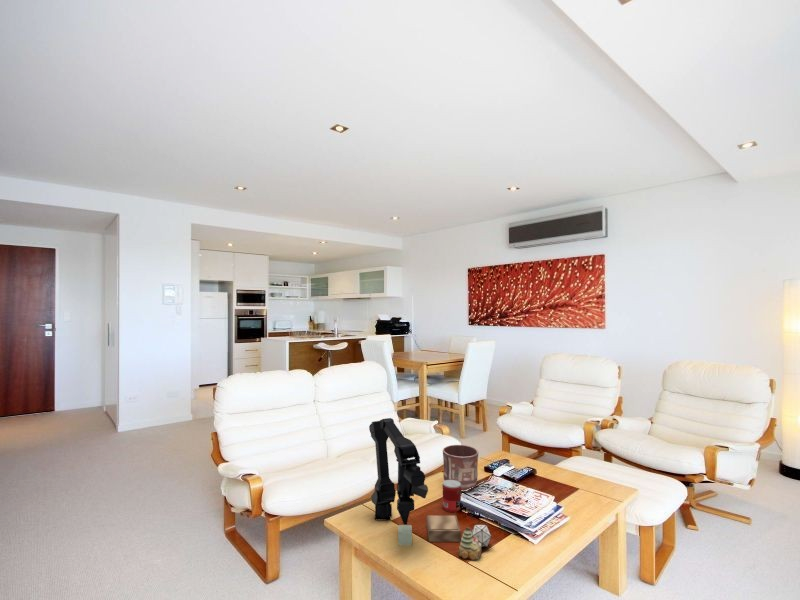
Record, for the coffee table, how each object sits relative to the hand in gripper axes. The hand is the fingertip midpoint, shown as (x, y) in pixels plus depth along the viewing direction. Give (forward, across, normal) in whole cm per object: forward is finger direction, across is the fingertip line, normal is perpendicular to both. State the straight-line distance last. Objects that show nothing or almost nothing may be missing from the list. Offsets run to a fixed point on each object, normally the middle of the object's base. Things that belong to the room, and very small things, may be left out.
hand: (405, 518), depth 163 cm
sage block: (+9, 0, 0) cm, 9 cm away
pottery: (+9, +49, -28) cm, 57 cm away
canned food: (+9, +27, -21) cm, 35 cm away
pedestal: (+9, +6, -15) cm, 18 cm away
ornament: (+9, -9, -23) cm, 26 cm away
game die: (+9, -3, -28) cm, 30 cm away
